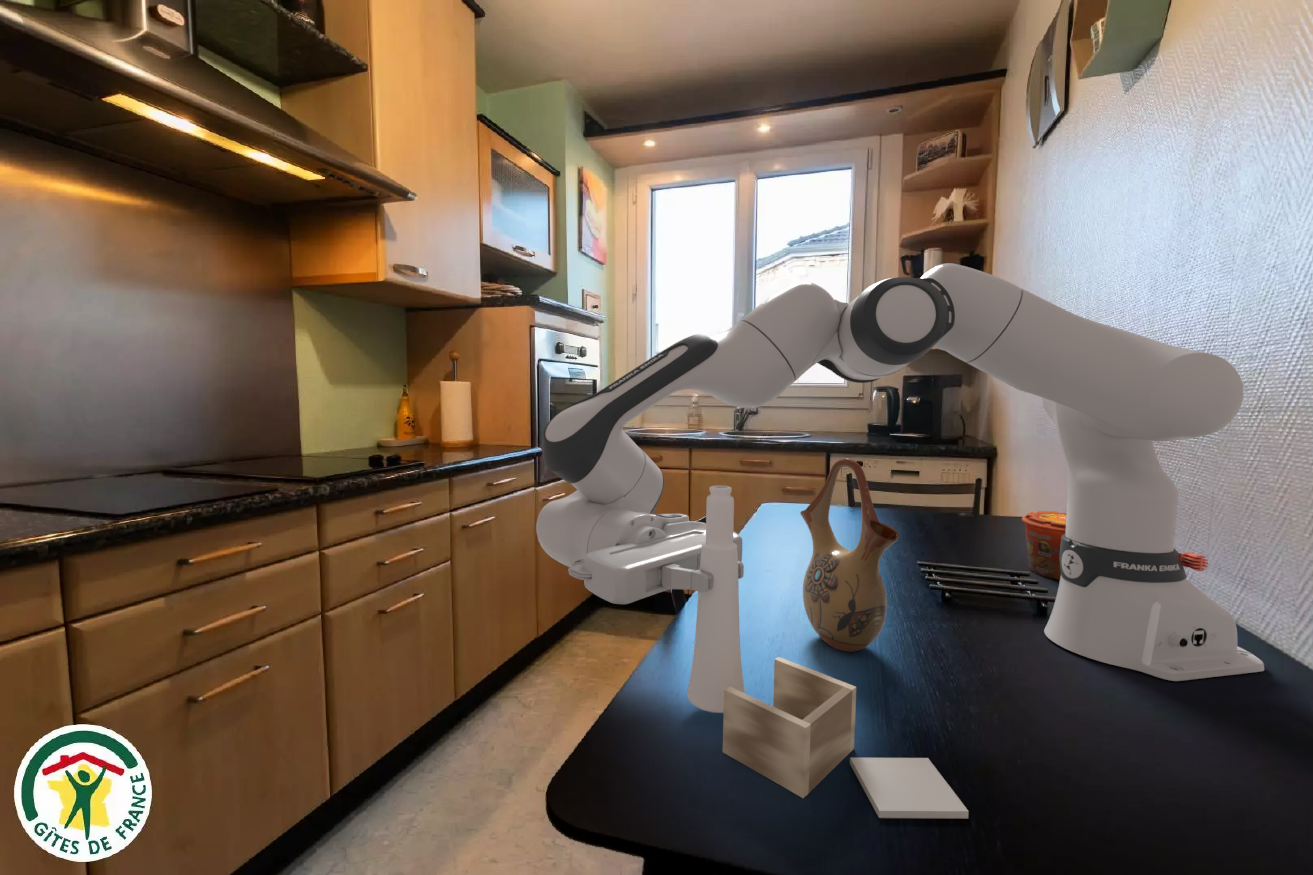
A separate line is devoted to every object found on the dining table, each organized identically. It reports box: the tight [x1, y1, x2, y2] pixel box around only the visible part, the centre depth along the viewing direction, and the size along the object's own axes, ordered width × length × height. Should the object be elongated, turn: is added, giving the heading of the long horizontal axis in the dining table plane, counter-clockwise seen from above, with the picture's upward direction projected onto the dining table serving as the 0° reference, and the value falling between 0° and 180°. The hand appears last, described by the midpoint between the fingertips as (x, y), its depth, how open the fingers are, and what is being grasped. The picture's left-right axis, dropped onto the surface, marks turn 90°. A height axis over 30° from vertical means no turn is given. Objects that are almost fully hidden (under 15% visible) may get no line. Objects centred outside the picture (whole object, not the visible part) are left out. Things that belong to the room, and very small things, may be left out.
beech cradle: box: [722, 656, 857, 799], centre depth 51 cm, size 8×9×6 cm
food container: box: [1021, 510, 1067, 582], centre depth 105 cm, size 16×16×11 cm
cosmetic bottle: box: [686, 484, 746, 714], centre depth 57 cm, size 6×6×22 cm
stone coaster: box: [849, 757, 969, 819], centre depth 46 cm, size 7×6×1 cm
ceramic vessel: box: [799, 457, 900, 653], centre depth 73 cm, size 16×9×25 cm, turn 24°
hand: (725, 577), depth 56 cm, fingers closed on cosmetic bottle, 3 cm apart
